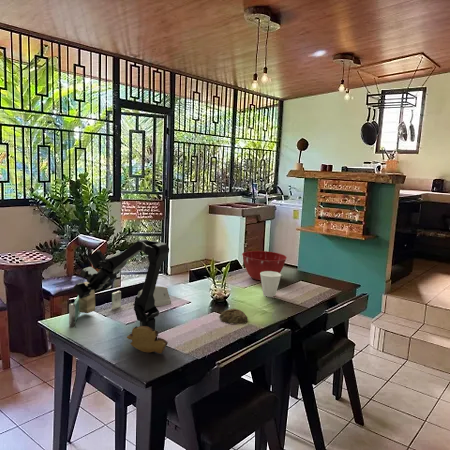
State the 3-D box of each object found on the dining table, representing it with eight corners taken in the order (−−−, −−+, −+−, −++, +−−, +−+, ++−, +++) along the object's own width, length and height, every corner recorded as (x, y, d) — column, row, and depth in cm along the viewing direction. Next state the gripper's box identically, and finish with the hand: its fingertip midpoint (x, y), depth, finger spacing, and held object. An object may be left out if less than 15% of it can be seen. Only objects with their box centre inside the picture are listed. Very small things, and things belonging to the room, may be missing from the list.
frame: (72, 328, 173) (71, 305, 172) (68, 327, 175) (67, 304, 173) (121, 306, 201) (121, 287, 200) (118, 306, 202) (118, 286, 201)
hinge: (141, 308, 200) (138, 288, 201) (137, 309, 204) (135, 289, 205) (172, 303, 209) (169, 284, 211) (168, 303, 213) (165, 284, 214)
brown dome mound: (240, 313, 200) (240, 304, 199) (250, 323, 189) (251, 313, 188) (215, 316, 196) (216, 306, 195) (224, 326, 184) (225, 315, 183)
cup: (283, 297, 227) (285, 276, 225) (264, 299, 222) (266, 277, 220) (273, 291, 238) (274, 270, 236) (255, 292, 233) (256, 271, 231)
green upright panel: (76, 324, 177) (76, 307, 176) (71, 324, 176) (71, 307, 175) (84, 306, 198) (84, 291, 197) (80, 306, 198) (79, 291, 197)
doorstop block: (95, 310, 189) (94, 282, 188) (87, 313, 185) (86, 285, 183) (86, 308, 191) (86, 281, 190) (79, 311, 187) (78, 284, 185)
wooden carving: (169, 351, 156) (169, 327, 155) (164, 357, 152) (165, 331, 150) (130, 345, 160) (130, 321, 159) (124, 350, 156) (124, 325, 154)
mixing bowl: (263, 270, 283) (264, 248, 281) (294, 280, 262) (296, 257, 259) (232, 276, 265) (233, 253, 263) (263, 287, 244) (264, 262, 241)
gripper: (107, 258, 191) (90, 277, 198) (76, 266, 175) (58, 287, 181) (120, 277, 189) (102, 296, 196) (90, 287, 173) (71, 307, 179)
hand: (84, 296), depth 188 cm, fingers closed on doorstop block, 5 cm apart
